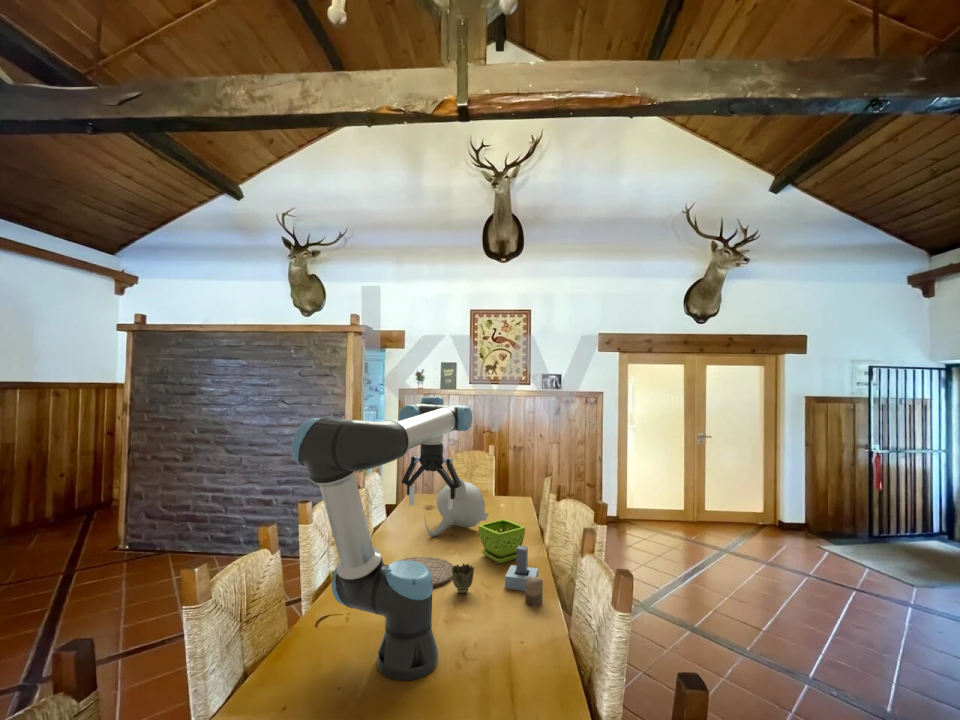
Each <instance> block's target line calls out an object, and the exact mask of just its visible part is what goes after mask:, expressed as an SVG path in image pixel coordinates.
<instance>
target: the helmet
mask: <svg viewBox="0 0 960 720" xmlns="http://www.w3.org/2000/svg"><path fill="white" fill-rule="evenodd" d="M458 478H459V480H460V482H461V486H460V487H458V488H456V493H455V498H454V499H453V508H452V509H450V510H448V489H450V487H449V486H448V484H447V483H446V484H444V485H443V486H442V487H441V488H439V490H438V493H437V492H435V493H434V494H433V496H434V495H436V494H437V496H436V507H437V511H438V512H439V514H440V516H441V517H442V519H441V522H440V523H439V524H438V526H437V527H436V528H435V529H434V530H433V531H431V530H429V528H428V526H427V521H426V519H424V524H425V528H426V530H427V534H428V535H429V536H430V538H434V537H436V536H439V535H440V534H442V533H443V532H445V531H447V530H448V529H449V528H450V527H452V526H457V527H461V528H467V529H468V528H474V527H476V526H477V525H478V524H479V523H480V522H484V521H487V518H488V516H489V512H486V513H485V508H486V503H485V500H484V496H483V494H482V492H481V491H480V489H479V488H478V487H477V486H476V485H474V484H473V483H471V482H468V481H464V480H463V479H462V478H461V477H459V476H458ZM452 481H453V479H452ZM425 515H426V514H424V515H423V516H424V517H426V516H425Z"/></svg>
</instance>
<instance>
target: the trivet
mask: <svg viewBox="0 0 960 720" xmlns="http://www.w3.org/2000/svg"><path fill="white" fill-rule="evenodd" d="M400 560H404V561H407V560H411V561H416V562H419V563H421V564H423V565H425V566H426V567H427V568H428V569H429V570H430V573H431V575H432V585H433V589H435V588H439V587H442V586H444V585H446V584H448V583H450V582H451V581H453V575H452V568H453V566H454V565H453V564H452V563H451V562H450V561H447V560H446V559H442V558H439V557H433V556H412V557H407V558H403V559H399V560H398V561H400Z"/></svg>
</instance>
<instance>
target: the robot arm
mask: <svg viewBox="0 0 960 720" xmlns="http://www.w3.org/2000/svg"><path fill="white" fill-rule="evenodd" d="M420 401H421V402H420V403H410V404H406V405H404V406H402V407H401V409H400V410H399V412H398V421H397V420H396V419H387V420H384V421H373V420H371V421H370V420H363V419H361V420H360V419H343V418H341V419H340V418H329V417H327V416H325V417H314V418H313V417H312V418H309V419H307V420H305V421H304V422H303V423H302V424H301V425H300V426H299V427H298V428H297V430H296V431H295V434H294V436H293V438H292V442H291V449H290V450H291V456H292V459H293V461H294V462H295V463H296V464H298V465H299V466H301V467H306V469H307V472H308V476H309V480H310V481H311V482H312V483H313V484H316V485H319V489H320V493H321V496H322V501H323V504H324V508H325V510H326V514H327V518H328V521H329V522H328V523H329V525H330V529H331V533H332V536H333V540H334V543H335V546H336V551H337V554H338V558H339V560H338V561H337V563H336V568H335V569H334V572H333V574H332V578H333V579H332V581H331V591H332V595H333V597H334V598H335V600H336V601H337V603H339V604H340V605H343V606H345V607H346V608H347V607H348V608H350V609H355V610H360V611H363V612H366V613H371V614H375V615H379V616H382V617H384V618H385V621H384V626H385V627H384V634H383V637H382V640H381V643H380V645H379V649H378V652H377V657H376V658H377V661H376V664H377V665H376V666H377V667H376V668H377V669H378V671H379V672H380V674H381V675H383V676H384V677H385V678H388V679H391V680H394V681H403V682H404V681H412V680H417V679H419V678H423V677H425V676H427V675H429V674H430V673H432V671H434V670H435V668H436V667H437V665H438V661H439V660H438V659H439V649H438V646H437V641H436V639H435V636H434V633H433V628H432V624H433V623H432V621H433V618H432V615H433V591H434V588H433V585H432V575H431V573H430V570H429V569H428V568H427V567H426V566H425V565H423V564H421V563H419V562H416V561H411V560H407V561H404V560H402V559H399V560H400V561H399V560H396V561H393V562H391V563H390V564H386V563H384V560H383V557H382V553H381V551H380V550H379V549H378V548H376V547H375V546H374V545H373V542H372V537H371V534H370V529H369V526H368V525H369V524H368V521H367V518H366V513H365V510H364V509H365V508H364V506H363V502H362V501H363V500H362V498H361V494H360V491H359V486H358V482H357V478H356V474H355V473H356V472H361V471H367V470H370V469H374V468H377V467H380V466H383V465H385V464H389V463H391V462H394V461H396V460H398V459H400V458H402V457H404V455H406V453H407V452H408V450H411V449H413V448H416V447H418V446H420V451H419V452H420V456H417V455H414V456H411V457H410V462H409V463H410V464H409V465H408V467H407V469H406V472H405V474H404V476H403V477H402V480H401V483H402V484H404V485H406V495H407V496H409V499H408V502H409V503H408V506H409V507H413V506H414V505H415V504H416V503H415V501H416V500H415V498H416V497H415V495H416V494H415V493H416V491H415V490H416V489H415V487H416V485H415V484H414V483H415V481H416V480H417V479H418V478H419V477H420V475H421V474H422V473H423V472H424V471H426V472H429V471H431V472H437V473H438V474H440V475H439V476H440V477H442V479H443V480H444V482H445V483H446V484H448V486H449V487H450V489H448V510H450V509H452V508H453V499H454V498H455V493H456V488H458V487H460V486H461V482H460V480H459V478H460V477H459V475H458V474H457V471H456V469H455V467H454V464H453V458H452V457H448V458H444V444H443V442H444V435H445V434H446V435H447V434H448V433H451V432H453V431H458V432H466V431H467V432H468V430H470V428H471V426H472V424H473V412H472V410H471V408H470V407H469V406H467V405H460V404H458V405H457V404H456V405H452V404H451V405H449V404H445V401H444V398H443V397H441V396H435V395H434V396H433V395H431V396H430V395H429V396H428V395H426V396H423V397H422V398H421V400H420ZM417 463H420V464H421V466H419V468H418V469H417V470H416V471H415V473H414V474H413V472H414V469H415V467H416V465H417ZM443 464H445V466H446V467H447V470H448V473H449V474H450V475H449V474H448V473H447V471H446V469H445V468H444V466H443ZM412 474H413V475H412ZM411 475H412V476H411ZM458 477H459V478H458ZM452 480H453V481H452Z"/></svg>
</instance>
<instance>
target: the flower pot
mask: <svg viewBox="0 0 960 720" xmlns="http://www.w3.org/2000/svg"><path fill="white" fill-rule="evenodd" d="M478 531H479V537H480V542H481V545H482V546H483V548H484V549H482V550H481V553H482V554H483V555H484V557H487V558H488V559H490V560H491V561H494V562H495V563H497V564H498V565H500V564H502V563H507V562H509V561H513V560H516V557H517V547H518V546H523V543H524V539H525V533H526V527H525V526H523V525H522V524H519V523H516V522H514V521H512V520H508V519H502V518H501V519H498V520H494V521H490V522H486V523H481V524H479V525H478Z"/></svg>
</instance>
